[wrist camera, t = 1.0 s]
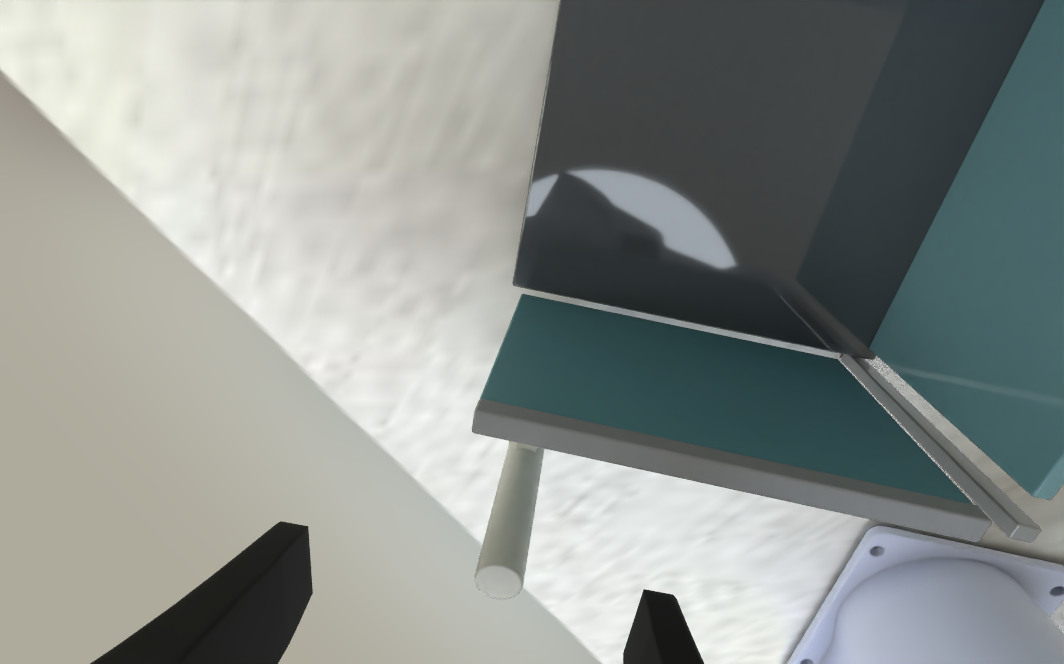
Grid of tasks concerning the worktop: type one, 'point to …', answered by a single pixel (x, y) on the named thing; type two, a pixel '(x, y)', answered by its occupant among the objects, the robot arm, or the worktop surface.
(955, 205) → the teal open box
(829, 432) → the teal shelf
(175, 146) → the worktop surface
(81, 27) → the worktop surface
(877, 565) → the robot arm
